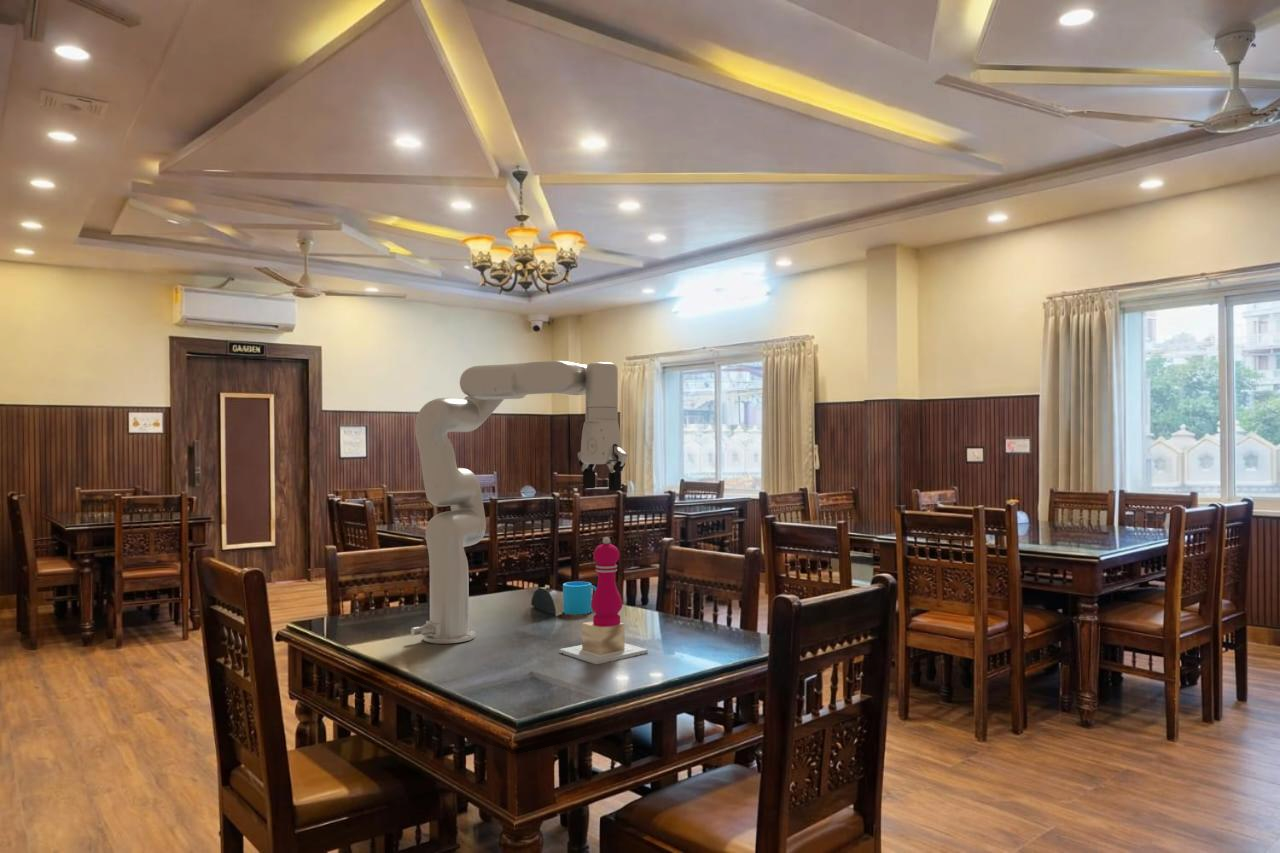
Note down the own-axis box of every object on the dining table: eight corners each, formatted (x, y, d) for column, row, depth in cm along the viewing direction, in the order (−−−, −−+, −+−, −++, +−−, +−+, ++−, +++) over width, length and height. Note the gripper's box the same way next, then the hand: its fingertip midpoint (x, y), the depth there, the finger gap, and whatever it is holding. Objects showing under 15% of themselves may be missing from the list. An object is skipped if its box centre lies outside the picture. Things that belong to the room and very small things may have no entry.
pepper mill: (622, 620, 200) (621, 535, 200) (622, 626, 192) (622, 538, 193) (591, 620, 199) (591, 535, 200) (590, 627, 192) (590, 539, 192)
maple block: (600, 654, 191) (600, 628, 191) (582, 649, 196) (582, 623, 197) (624, 649, 196) (624, 623, 196) (606, 644, 201) (605, 618, 201)
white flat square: (596, 664, 186) (596, 660, 186) (559, 652, 196) (559, 648, 196) (647, 653, 195) (647, 649, 195) (610, 642, 206) (610, 638, 206)
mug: (574, 616, 237) (574, 587, 237) (557, 612, 243) (557, 583, 243) (607, 610, 245) (607, 582, 245) (590, 606, 251) (590, 579, 251)
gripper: (566, 416, 201) (566, 488, 201) (612, 414, 188) (612, 491, 188) (592, 416, 206) (592, 487, 206) (637, 415, 193) (638, 490, 192)
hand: (601, 489), depth 197 cm, fingers open, 9 cm apart
